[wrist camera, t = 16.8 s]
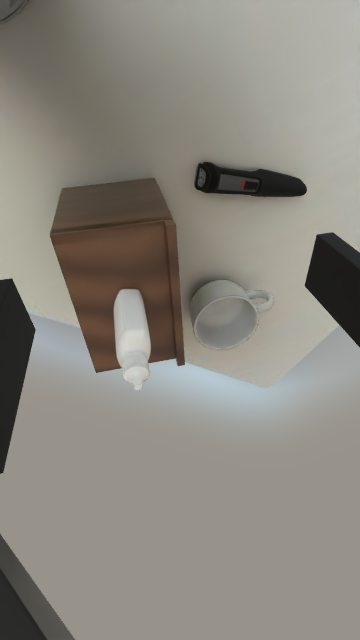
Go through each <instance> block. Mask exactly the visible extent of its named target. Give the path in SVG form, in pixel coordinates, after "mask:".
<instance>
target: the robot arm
mask: <svg viewBox="0 0 360 640" xmlns="http://www.w3.org/2000/svg"><path fill="white" fill-rule="evenodd" d="M28 1H29V0H0V24H2V23H5V22H7V21H8V20H10V19H12V18H13V17H14V16H15V15H17V14H18V13H19V12H20V11H21V10H22V9H23V8H24V6H25V5H26V4H27V2H28ZM305 287H306V288H307V289H308V290H309V291H310V292H311V293H312V295H313V296H314V297H315V298H316V299H317V300H318V301H319V302H320V304H321V305H322V306H323V307H324V308H325V309H326V310H327V311H328V312H329V314H330V315H331V316H332V317H333V318H334V319H335V320H336V321H337V323H338V324H339V325H340V326H341V327H342V328H343V329H344V330H345V331H346V332H347V334H348V335H349V336H350V337H351V338H352V339H353V340H354V341H355V343H356V344H357V345H358V346H359V347H360V253H359V252H358V251H357V250H355V249H354V248H353V247H351V246H350V245H349V244H347V243H346V242H345V241H343V240H342V239H341V238H339V237H338V236H337V235H336V234H334V233H333V232H332V233H325V234H318V235H317V236H316V240H315V245H314V249H313V253H312V257H311V261H310V266H309V270H308V274H307V278H306V282H305ZM34 334H35V328H34V325H33V323H32V321H31V319H30V317H29V314H28V312H27V310H26V308H25V306H24V304H23V301H22V299H21V297H20V295H19V293H18V290H17V288H16V286H15V284H14V282H13V280H12V278H11V279H4V280H0V474H1V473H3V471H4V467H5V462H6V457H7V453H8V449H9V445H10V440H11V436H12V431H13V427H14V423H15V418H16V414H17V409H18V405H19V400H20V396H21V392H22V387H23V383H24V378H25V374H26V369H27V365H28V361H29V356H30V352H31V347H32V343H33V338H34ZM0 640H75V639H74V638H73V636H72V635H71V633H70V632H69V631H68V629H67V628H66V626H65V625H64V623H63V622H62V621H61V619H60V618H59V616H58V615H57V614H56V612H55V611H54V609H53V608H52V607H51V605H50V604H49V602H48V601H47V600H46V598H45V597H44V595H43V594H42V593H41V591H40V590H39V588H38V587H37V585H36V584H35V582H34V581H33V580H32V578H31V577H30V575H29V574H28V573H27V571H26V570H25V568H24V567H23V566H22V564H21V563H20V561H19V560H18V558H17V557H16V556H15V554H14V553H13V551H12V550H11V549H10V547H9V546H8V544H7V543H6V542H5V540H4V539H3V538H2V536H1V534H0Z"/></svg>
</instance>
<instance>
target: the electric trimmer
mask: <svg viewBox="0 0 360 640" xmlns="http://www.w3.org/2000/svg"><path fill="white" fill-rule="evenodd" d="M195 188H196V189H197V190H201V191H202V192H205V193H220V194H244V195H251V196H262V197H294V196H302V195H304V194H305V193H306V191H307V187H306V186H305V184H304V183H303V182H302V181H301V180H300V179H298V178H295V177H292V176H288V175H284V174H280V173H276V172H272V171H268V170H263V169H259V170H257V171H243V170H234V169H227V168H221V167H218V166H216V165H214V164H212V163H209V162H204V163H203V164H198V166H197V172H196V178H195Z"/></svg>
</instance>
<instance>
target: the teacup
mask: <svg viewBox="0 0 360 640" xmlns="http://www.w3.org/2000/svg"><path fill="white" fill-rule="evenodd" d="M254 298H263V299H267V301H266V302H265V303H261V304H258V303H255V302H254V301H251V300H250V299H254ZM273 304H274V298H273V296H272V294H271V293H269V292H267V291H263V290H255V291H248V290H243V289H242V288H241V287H240V286H239V285H237V284H236V283H234V282H231V281H227V280H216V281H212V282H209V283H207V284H205V285H204V286H202V287H201V288H200V289H199V290H198V291H197V292H196V293H195V294H194V296H193V298H192V300H191V303H190V309H189V311H190V318H191V322H192V326H193V330H194V334H195V337H196V339H197V340H198V342H199V343H200V344H202V345H203V346H205V347H207V348H210V349H214V350H226V349H230V348H234V347H236V346H239V345H240V344H242V343H244V342H245V341H246V340H248V339H249V338H250V337H251V335H252V334H253V333H254V331H255V330H256V328H257V325H258V312H264V311H267V310H269V309H271V308H272V306H273Z"/></svg>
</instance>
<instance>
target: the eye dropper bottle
mask: <svg viewBox="0 0 360 640" xmlns="http://www.w3.org/2000/svg"><path fill="white" fill-rule="evenodd" d="M114 325H115V342H116V355H117V360H118V362H119V364H120V366H121V367H122V369H123V377H124V379H125V380H126V381H127V382H128V383H131V384H133V386H134V389H135V390H140V389H141V388H142V383H143V382H144V381H146V380H147V379H148V377H149V375H150V372H149V366H148V359H149V356H150V352H151V342H150V336H149V330H148V324H147V319H146V313H145V308H144V302H143V298H142V295H141V293H140V291H139V290H137V289H122V290H120V291H119V293H118V295H117V297H116V299H115V303H114Z"/></svg>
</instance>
